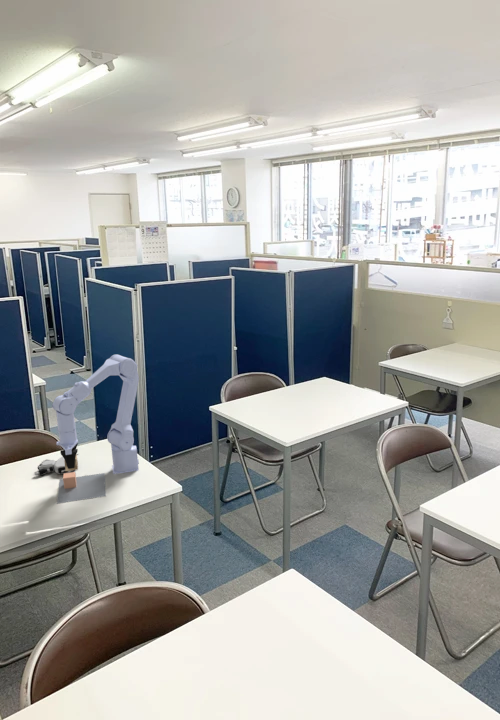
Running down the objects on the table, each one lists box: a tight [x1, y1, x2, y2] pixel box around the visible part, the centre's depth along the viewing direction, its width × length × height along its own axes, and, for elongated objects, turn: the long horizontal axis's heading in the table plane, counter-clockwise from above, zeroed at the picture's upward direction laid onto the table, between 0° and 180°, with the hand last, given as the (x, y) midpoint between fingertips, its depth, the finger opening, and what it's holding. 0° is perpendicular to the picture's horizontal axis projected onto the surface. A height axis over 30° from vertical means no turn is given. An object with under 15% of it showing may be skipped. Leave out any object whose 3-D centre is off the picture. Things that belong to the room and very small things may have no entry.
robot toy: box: [34, 453, 80, 476], centre depth 209 cm, size 12×4×15 cm
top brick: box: [64, 453, 79, 472], centre depth 194 cm, size 4×4×4 cm
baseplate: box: [56, 472, 107, 505], centre depth 195 cm, size 16×18×1 cm
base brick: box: [62, 471, 77, 489], centre depth 196 cm, size 4×4×4 cm
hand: (71, 465), depth 194 cm, fingers closed on top brick, 4 cm apart
